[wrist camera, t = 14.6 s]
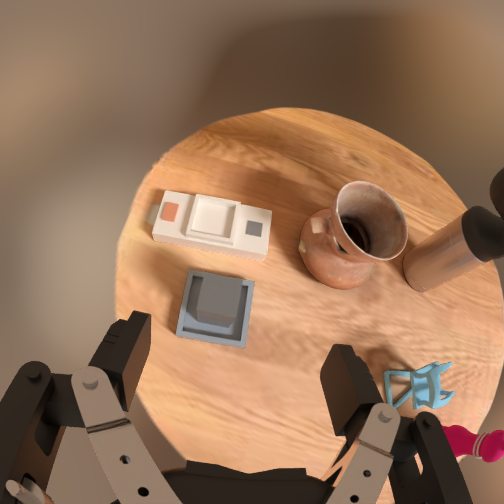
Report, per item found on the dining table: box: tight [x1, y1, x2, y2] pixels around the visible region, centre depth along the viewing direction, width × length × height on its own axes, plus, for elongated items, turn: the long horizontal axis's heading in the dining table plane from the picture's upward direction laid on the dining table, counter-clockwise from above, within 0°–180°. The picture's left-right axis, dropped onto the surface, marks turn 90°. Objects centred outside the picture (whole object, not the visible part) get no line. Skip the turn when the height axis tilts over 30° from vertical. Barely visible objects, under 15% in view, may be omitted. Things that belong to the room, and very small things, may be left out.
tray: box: [176, 269, 255, 348], centre depth 42 cm, size 10×10×2 cm
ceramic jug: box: [298, 181, 408, 290], centre depth 43 cm, size 18×14×14 cm
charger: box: [196, 272, 243, 328], centre depth 37 cm, size 5×5×10 cm
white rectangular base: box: [152, 191, 272, 262], centre depth 45 cm, size 18×8×4 cm, turn 82°
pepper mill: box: [442, 425, 504, 462], centre depth 29 cm, size 7×7×20 cm
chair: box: [383, 362, 455, 409], centre depth 37 cm, size 8×8×12 cm
